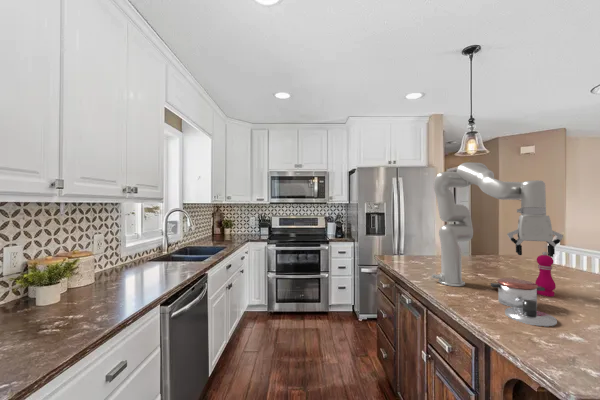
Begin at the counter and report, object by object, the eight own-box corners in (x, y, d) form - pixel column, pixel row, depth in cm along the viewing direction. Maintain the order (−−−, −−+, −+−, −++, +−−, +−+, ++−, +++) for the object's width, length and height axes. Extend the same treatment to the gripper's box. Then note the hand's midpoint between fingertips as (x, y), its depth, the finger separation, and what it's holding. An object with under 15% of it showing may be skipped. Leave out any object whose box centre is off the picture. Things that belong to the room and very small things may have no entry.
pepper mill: (550, 292, 134) (550, 250, 134) (559, 297, 127) (558, 253, 127) (532, 291, 136) (531, 250, 136) (539, 296, 129) (539, 252, 129)
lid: (514, 324, 100) (514, 306, 100) (498, 309, 114) (498, 293, 114) (566, 330, 95) (566, 311, 95) (543, 313, 110) (543, 296, 110)
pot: (497, 307, 116) (497, 285, 116) (486, 296, 129) (486, 277, 129) (552, 312, 110) (552, 289, 110) (535, 300, 123) (534, 280, 123)
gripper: (509, 212, 110) (510, 255, 110) (566, 212, 103) (567, 258, 103) (504, 211, 117) (505, 252, 117) (557, 211, 110) (559, 255, 110)
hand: (534, 255), depth 110 cm, fingers open, 9 cm apart
